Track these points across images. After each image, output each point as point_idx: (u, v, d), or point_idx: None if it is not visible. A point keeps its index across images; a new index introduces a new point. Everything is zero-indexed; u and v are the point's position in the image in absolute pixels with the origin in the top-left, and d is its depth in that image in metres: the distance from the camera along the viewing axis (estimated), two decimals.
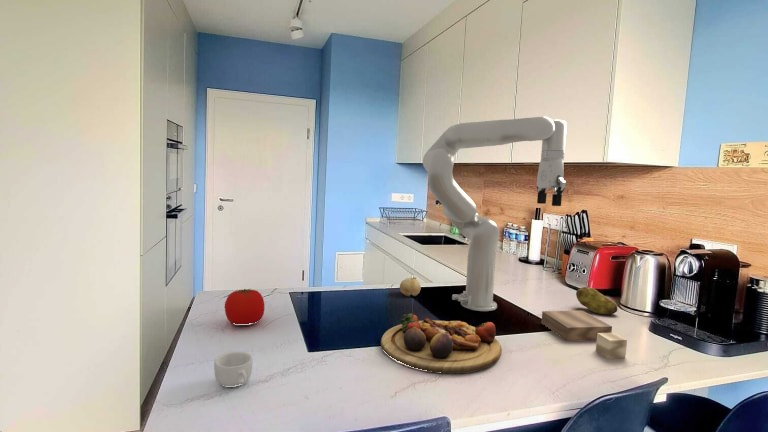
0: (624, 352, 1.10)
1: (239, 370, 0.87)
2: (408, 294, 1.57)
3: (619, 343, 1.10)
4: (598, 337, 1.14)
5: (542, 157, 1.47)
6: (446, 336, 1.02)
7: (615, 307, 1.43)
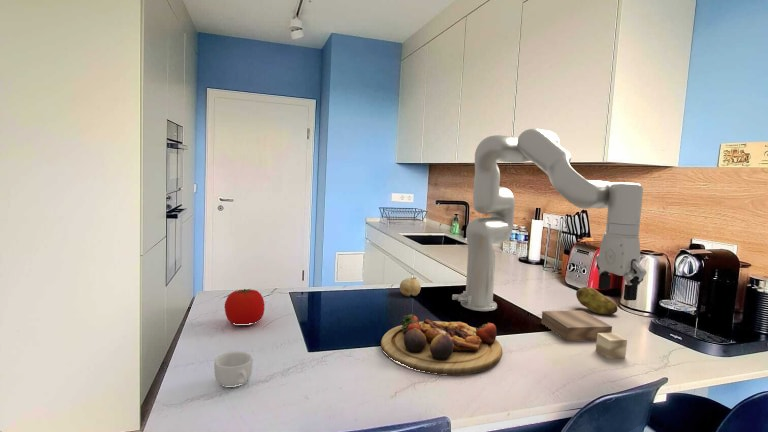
0: (624, 352, 1.10)
1: (239, 370, 0.87)
2: (408, 295, 1.57)
3: (619, 343, 1.10)
4: (598, 337, 1.14)
5: (609, 232, 1.09)
6: (446, 337, 1.02)
7: (615, 307, 1.43)
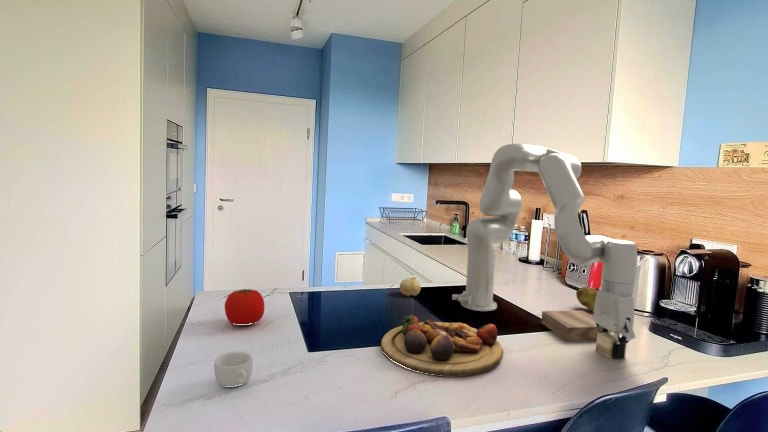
0: None
1: (239, 370, 0.87)
2: (408, 295, 1.57)
3: None
4: (598, 336, 1.14)
5: (603, 289, 1.10)
6: (447, 338, 1.01)
7: None
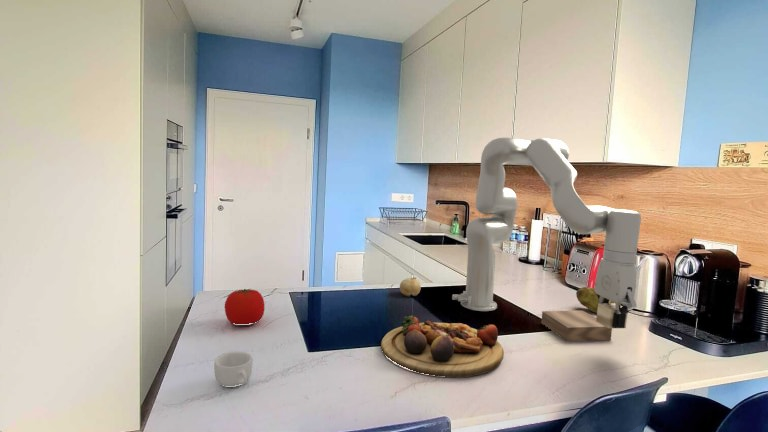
0: (625, 322, 1.10)
1: (239, 370, 0.87)
2: (408, 295, 1.57)
3: None
4: (599, 307, 1.13)
5: (606, 258, 1.10)
6: (447, 339, 1.01)
7: None
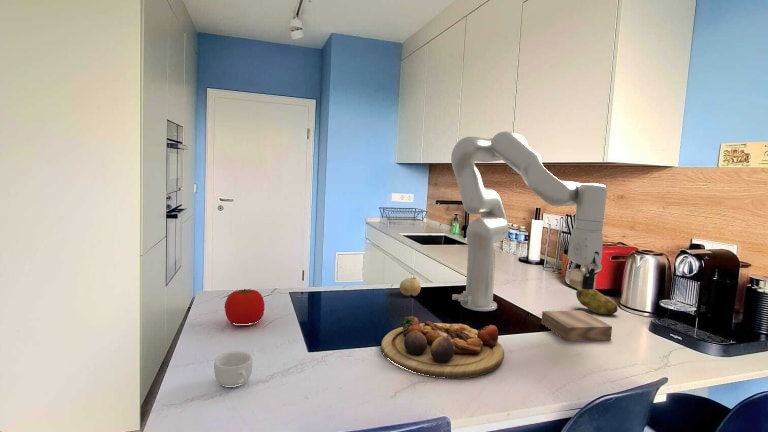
0: (594, 284, 1.23)
1: (239, 370, 0.87)
2: (408, 295, 1.57)
3: None
4: (571, 272, 1.26)
5: (576, 227, 1.22)
6: (447, 340, 1.00)
7: (615, 307, 1.43)
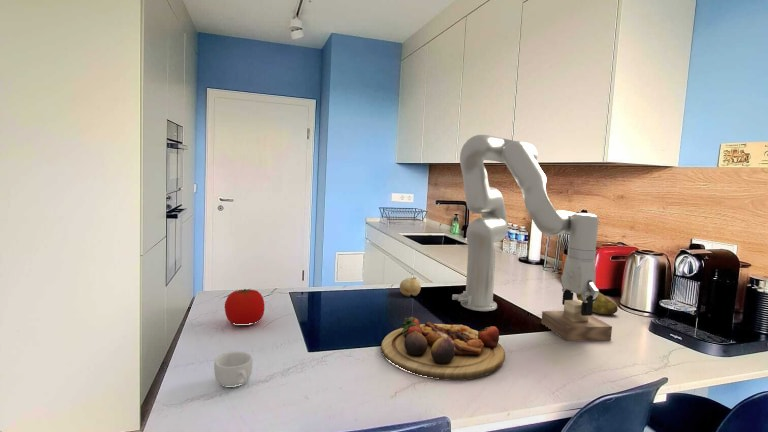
0: (587, 316, 1.26)
1: (239, 370, 0.87)
2: (408, 295, 1.57)
3: None
4: (565, 303, 1.29)
5: (569, 256, 1.25)
6: (448, 341, 1.00)
7: (615, 307, 1.43)
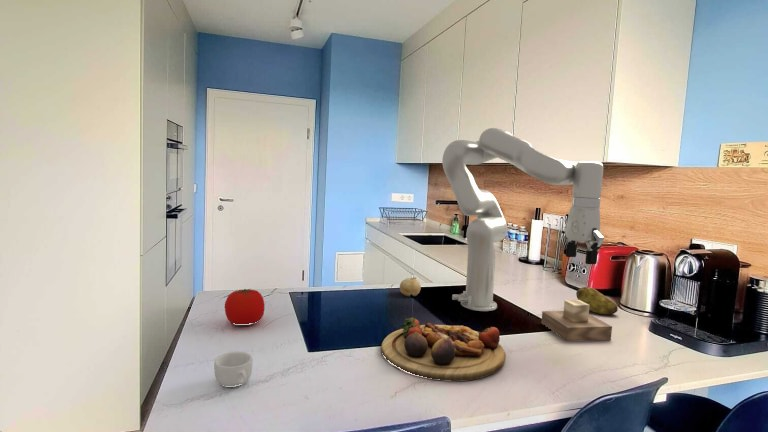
0: (587, 316, 1.26)
1: (239, 370, 0.87)
2: (408, 295, 1.57)
3: (582, 308, 1.25)
4: (565, 303, 1.29)
5: (574, 205, 1.24)
6: (448, 342, 0.99)
7: (615, 307, 1.43)
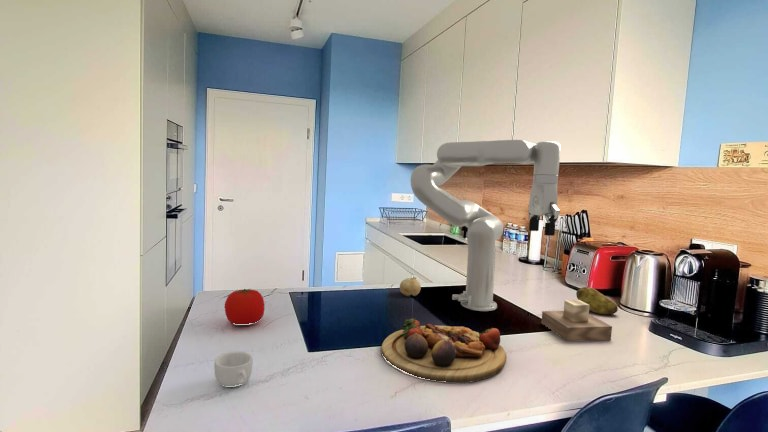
0: (587, 316, 1.26)
1: (239, 370, 0.87)
2: (408, 295, 1.57)
3: (582, 308, 1.25)
4: (565, 303, 1.29)
5: (534, 181, 1.35)
6: (449, 343, 0.98)
7: (615, 307, 1.43)
